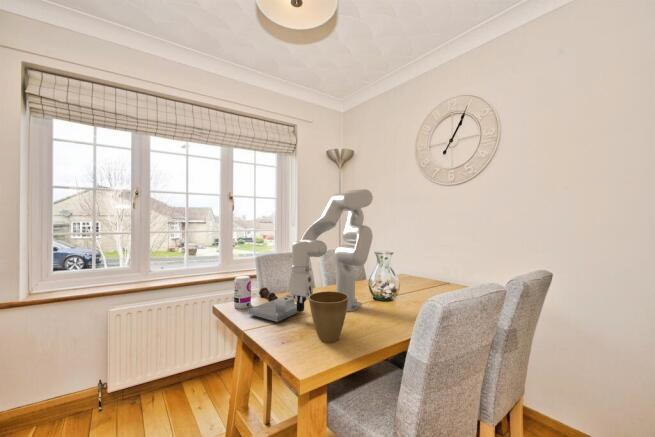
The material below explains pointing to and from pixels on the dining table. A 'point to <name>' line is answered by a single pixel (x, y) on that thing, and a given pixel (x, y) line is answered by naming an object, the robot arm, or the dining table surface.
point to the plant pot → (328, 314)
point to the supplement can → (242, 292)
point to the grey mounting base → (271, 311)
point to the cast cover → (285, 304)
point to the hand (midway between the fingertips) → (300, 310)
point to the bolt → (267, 294)
